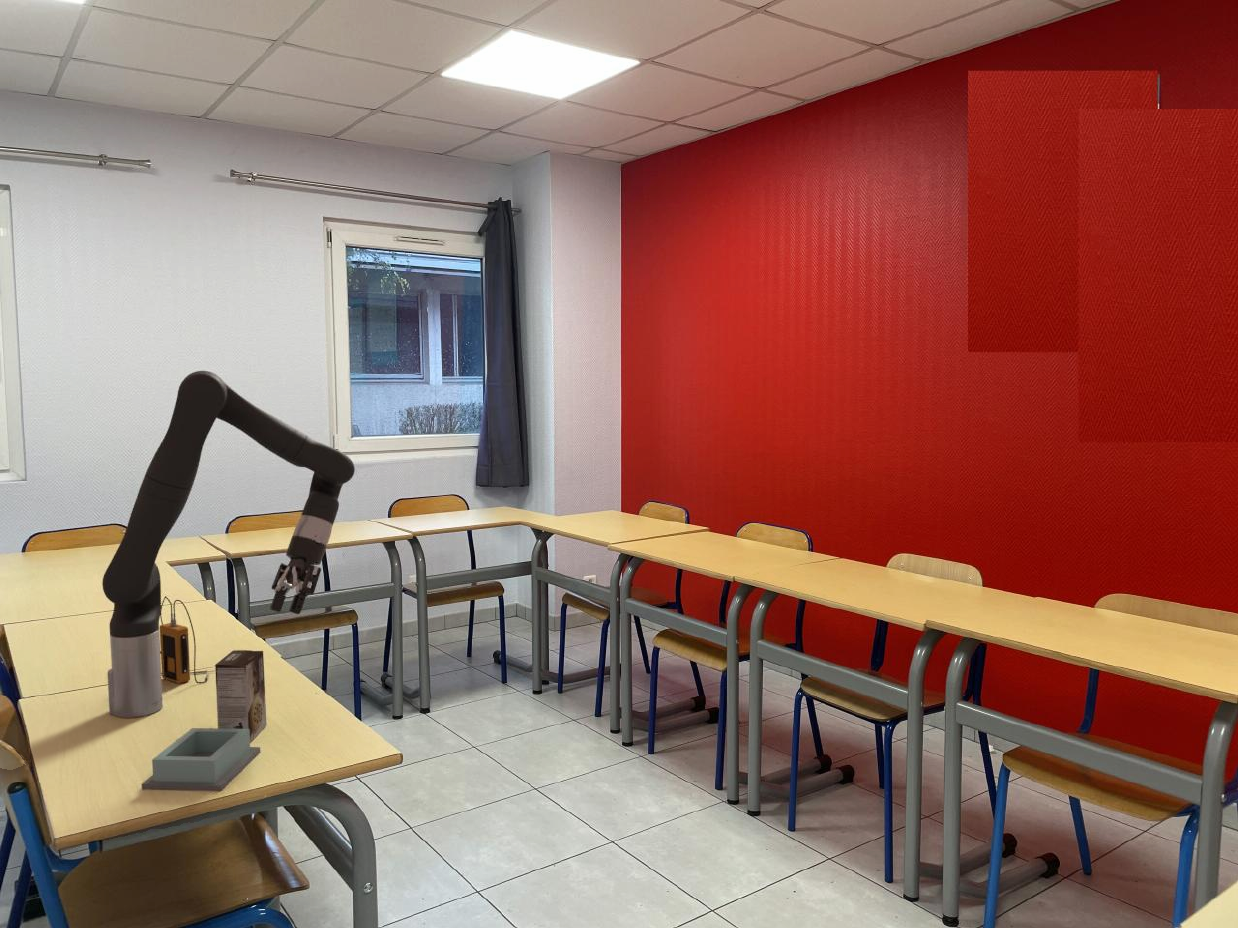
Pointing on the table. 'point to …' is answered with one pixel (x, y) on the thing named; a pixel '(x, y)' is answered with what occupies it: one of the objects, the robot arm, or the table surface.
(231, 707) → the coffee box
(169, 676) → the multimeter
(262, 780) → the table surface
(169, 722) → the table surface
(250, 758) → the box
